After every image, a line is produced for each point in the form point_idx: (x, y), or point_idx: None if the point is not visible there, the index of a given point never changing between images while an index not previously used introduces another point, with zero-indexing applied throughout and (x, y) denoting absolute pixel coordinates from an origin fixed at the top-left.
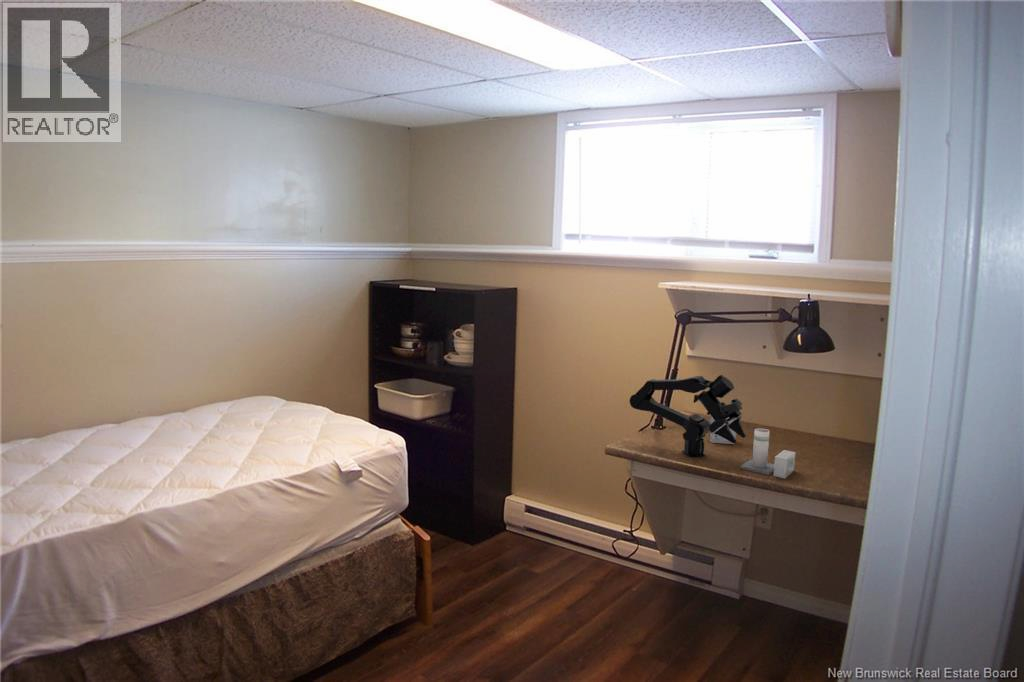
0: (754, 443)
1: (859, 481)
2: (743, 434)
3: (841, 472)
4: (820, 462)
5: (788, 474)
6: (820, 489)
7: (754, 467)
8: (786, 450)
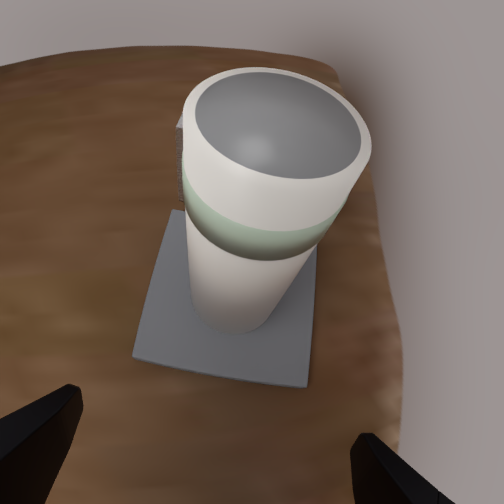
0: (298, 266)
1: (204, 47)
2: (67, 407)
3: (139, 68)
4: (50, 111)
5: None
6: None
7: (284, 313)
8: (181, 117)
